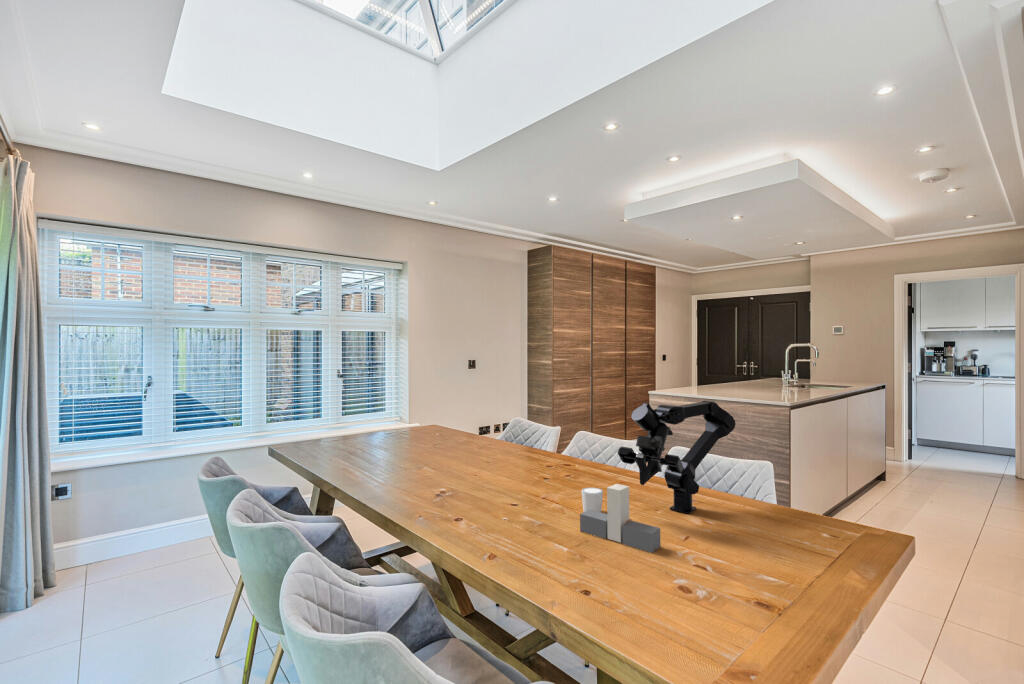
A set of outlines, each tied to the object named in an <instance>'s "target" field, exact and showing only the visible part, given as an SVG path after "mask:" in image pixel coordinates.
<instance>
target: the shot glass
mask: <svg viewBox="0 0 1024 684" xmlns="http://www.w3.org/2000/svg"><path fill="white" fill-rule="evenodd" d="M603 495H604V490H603V489H601V488H598V487H585V488H582V489H581V499H582V501H581V502H582V509H583V512H585V511H587V510H593V511H597V512H601V513H602V511H603V510H602V509H603V507H602V506H603Z"/></svg>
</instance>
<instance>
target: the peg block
mask: <svg viewBox="0 0 1024 684" xmlns="http://www.w3.org/2000/svg"><path fill="white" fill-rule="evenodd" d="M606 498H607V499H606V505H607V506H606V509H607V510H606V511H607V512H606V514H607V531H608V538H607V539H608V540H611V541H614V542H617V543H621V544H622V543H623V527H622V526H623V525H624V524H626V523H627V520H629V519H630V486H628V485H625V484H624V485H623V484H619V483H614V484H612V485H610V486H607V487H606Z"/></svg>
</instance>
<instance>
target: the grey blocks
mask: <svg viewBox="0 0 1024 684" xmlns="http://www.w3.org/2000/svg"><path fill="white" fill-rule="evenodd" d="M622 527H623V541H622V545H623V544H625V545H624V546H627V545H628V546H627V547H630V546H631V547H630V548H633V547H635V548H634V549H637V548H638V549H637V550H640V549H641V550H640V551H643V550H645V551H644V552H647V551H648V552H647V553H650V552H651V553H650V554H653V553H654V552H655V550H656V551H657V550H658V549H660V548H661V547H662V546H661V527H658V526H655V525H650V524H647V523H642V522H638V521H635V520H632V518H629V520H627V523H626V524H624V525H623V526H622ZM579 529H580V531H582V532H581V533H584V532H585V533H584V534H587V533H588V534H587V535H590V534H592V535H591V536H594V535H595V536H594V537H597V536H598V537H597V538H600V537H601V539H604V538H605V539H604V540H607V539H608V531H607V513H604V512H602V511H601V512H597V511H593V510H587V511H585V512H584V511H583V512H581V513H579ZM580 531H579V532H580ZM606 538H607V539H606ZM659 547H660V548H659Z"/></svg>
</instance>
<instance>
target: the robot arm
mask: <svg viewBox="0 0 1024 684" xmlns="http://www.w3.org/2000/svg"><path fill="white" fill-rule="evenodd" d="M699 416H702V417H703V419H704V420H705V424H704V425H705V429H704V431H703V432H702V433H701V435H700V436H699V437H698V439H697V440H696V442H695V443H694V444H693V445H692V446H691V447H690V449H689V450H688V451H687V453H685V455H684V457H683V458H682V459H681V458H680V455H676V454H675V455H674V454H669V453H666V454H664V457H662V453H663V452H665V444H666V442H667V438H668V436H673V435H674V433H673V431H672V430H671V427H670V426H668V425H674V426H675V425H679V424H680V423H683V422H684V421H685V420H686V419H689V418H694V417H699ZM631 419H632V420H633V421H634V422H635V423H636V424H637V425H638V426H639V428H641V429H642V430H643V431H644V432H648V433H647V434H646V436H645V435H638V434H637V437H636V443H635V446H636V447H638V451H639V452H635V451H634V449H633V447H628V446H620V447H619V448H618V451H617V455H618V456H619V459H620V460H621V462H623V463H625V464H629V465H634V464H635V463H636V465H637V467H638V472H639V484H640V485H641V486H644V485H645V484H647V482H649V480H650V479H652V478H653V477H654V476H655V475H657V474H658V473H662V472H663V471H662V470H663V469H662V467H663V466H666V469H665V471H664V480H665V483H666V487H667V488H668V489H671V490H673V505H672V506H670V507H669V510H671V511H676V512H680V513H684V514H687V515H689V514H691V513H693V512H694V511H696V510H697V507H696V506H693V495H696V494H698V493H699V489H700V485H699V484H698V483H697V482H696V480H695V479H696V469H697V468H698V467H699V465H700V464H701V463H702V461H703V460H704V459H705V458H706V456H707V455H708V454H709V452H710V451H711V449H712V448H714V446H715V445H716V443H717V442H718V440H719V439H722V438H724V437H727V436H728V435H730V434H731V433H732V432H733V431H734V430H735V428H736V420H735V418H734V417H733V416H732V415H731V414H730V413H729V412H728V411H726V410H725V409H723V408H722V407H721V406H719V404H718V403H717V402H715V401H710V400H703V401H699V402H693V403H687V404H682V405H681V404H680V405H673V404H659V405H658V406H657V408H655V409H653V408H652V406H651V405H650V404H649V403H645V402H644V403H642V405H640V406H638V407H636V408H635V409H634V410H633V411H632V413H631ZM667 424H668V425H667Z"/></svg>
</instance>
